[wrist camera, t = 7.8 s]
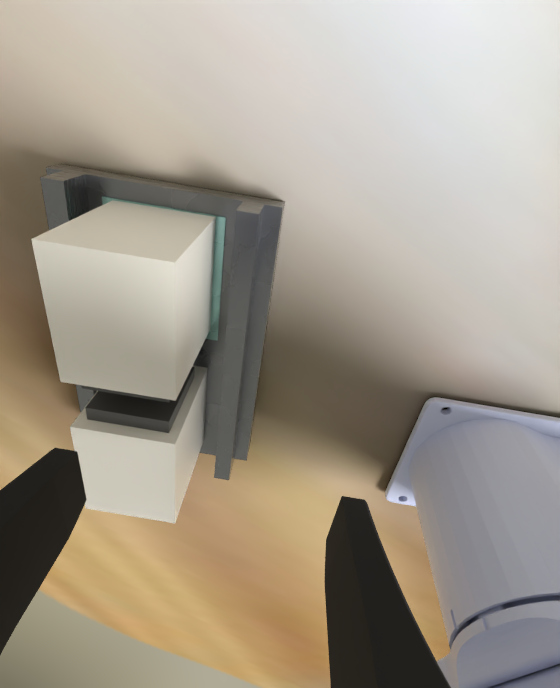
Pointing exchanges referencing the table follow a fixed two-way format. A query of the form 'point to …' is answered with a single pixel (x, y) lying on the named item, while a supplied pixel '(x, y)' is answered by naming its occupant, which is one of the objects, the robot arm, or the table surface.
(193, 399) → the white and grey block
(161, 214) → the white cardboard box
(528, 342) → the table surface
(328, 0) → the table surface
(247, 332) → the sliding window
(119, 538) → the table surface
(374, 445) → the table surface
